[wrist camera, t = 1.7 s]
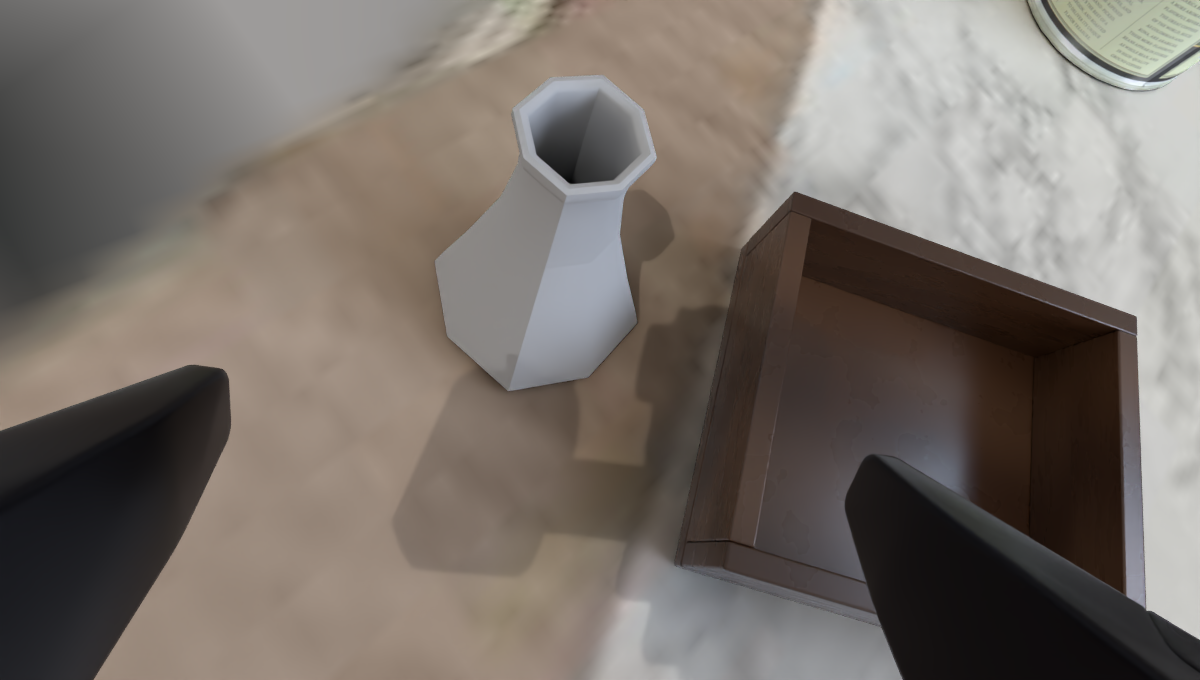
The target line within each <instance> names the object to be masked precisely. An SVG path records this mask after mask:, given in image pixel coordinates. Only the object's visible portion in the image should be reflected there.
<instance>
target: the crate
mask: <svg viewBox="0 0 1200 680" xmlns="http://www.w3.org/2000/svg"><path fill="white" fill-rule="evenodd" d="M1136 336H1137V317H1136V316H1134V315H1131V314H1128V313H1125V312H1123V311H1120V310H1117V309H1114V308H1112V307H1109V306H1106V305H1104V304H1101V303H1098V302H1095V301H1093V300H1090V299H1087V298H1084V297H1082V296H1079V295H1076V294H1074V293H1071V292H1068V291H1065V290H1063V289H1060V288H1057V287H1054V286H1052V285H1049V284H1046V283H1043V282H1041V281H1038V280H1035V279H1033V278H1030V277H1027V276H1024V275H1022V274H1019V273H1016V272H1013V271H1011V270H1008V269H1005V268H1002V267H1000V266H997V265H994V264H992V263H989V262H986V261H983V260H981V259H978V258H975V257H972V256H970V255H967V254H964V253H962V252H959V251H956V250H953V249H951V248H948V247H945V246H942V245H940V244H937V243H934V242H931V241H929V240H926V239H923V238H921V237H918V236H915V235H912V234H910V233H907V232H904V231H901V230H899V229H896V228H893V227H890V226H888V225H885V224H882V223H880V222H877V221H874V220H871V219H869V218H866V217H863V216H860V215H858V214H855V213H852V212H850V211H847V210H844V209H841V208H839V207H836V206H833V205H830V204H828V203H825V202H822V201H819V200H817V199H814V198H811V197H809V196H806V195H803V194H800V193H798V192H794V193H793V194H792V195H791V196H790V197H789V198H788V199H787V200H786V201H785V202H784V203H783V204H782V205H781V206H780V208H779V209H778V210H777V211H776V212H775V213H774V214H773V215H772V216H771V217H770V218H769V219H768V220H767V221H766V223H765V224H764V225H763V226H762V227H761V228H760V229H759V230H758V231H757V232H756V233H755V234H754V235H753V236H752V238H751V239H750V240H749V241H748V242H747V244H746V245H745V246H744V247H743V248H742V249H741V254H740V259H739V263H738V268H737V273H736V277H735V282H734V287H733V291H732V296H731V301H730V305H729V310H728V315H727V319H726V324H725V329H724V333H723V338H722V343H721V347H720V352H719V357H718V361H717V366H716V371H715V375H714V380H713V385H712V389H711V394H710V399H709V403H708V408H707V413H706V417H705V422H704V427H703V431H702V436H701V441H700V445H699V450H698V455H697V459H696V464H695V469H694V474H693V478H692V483H691V488H690V492H689V497H688V502H687V506H686V511H685V516H684V520H683V525H682V530H681V534H680V539H679V544H678V548H677V553H676V558H675V562H674V564H675V566H676V567H680V568H683V569H687V570H690V571H693V572H697V573H700V574H704V575H707V576H710V577H714V578H717V579H721V580H724V581H727V582H731V583H734V584H738V585H741V586H744V587H748V588H751V589H755V590H758V591H761V592H765V593H768V594H772V595H775V596H778V597H782V598H785V599H789V600H792V601H795V602H799V603H802V604H806V605H809V606H812V607H816V608H819V609H823V610H826V611H829V612H833V613H836V614H840V615H843V616H846V617H850V618H853V619H856V620H860V621H863V622H867V623H870V624H873V625H877V626H880V627H881V625H880V622H879V620H878V617H877V615H876V612H875V609H874V607H873V604H872V601H871V598H870V595H869V592H868V589H867V585H866V582H865V578H864V575H863V572H862V568H861V565H860V561H859V558H858V555H857V551H856V548H855V544H854V541H853V537H852V534H851V531H850V527H849V524H848V520H847V517H846V514H845V507H844V504H845V497H846V494H847V492H848V490H849V487H850V485H851V483H852V481H853V479H854V477H855V475H856V473H857V471H858V469H859V466H860V464H861V462H862V461H863V459H864V458H865V457H866V456H867V455H870V454H881V455H889V456H894V457H897V458H899V459H901V460H902V461H904V462H906V463H907V464H909V465H911V466H912V467H914V468H916V469H917V470H919V471H921V472H922V473H924V474H926V475H927V476H929V477H931V478H932V479H934V480H936V481H937V482H939V483H940V484H942V485H944V486H945V487H947V488H949V489H950V490H952V491H954V492H955V493H957V494H959V495H960V496H962V497H964V498H965V499H967V500H969V501H970V502H972V503H974V504H975V505H977V506H978V507H980V508H982V509H983V510H985V511H987V512H988V513H990V514H992V515H993V516H995V517H997V518H998V519H1000V520H1002V521H1003V522H1005V523H1007V524H1008V525H1010V526H1012V527H1013V528H1015V529H1016V530H1018V531H1020V532H1021V533H1023V534H1025V535H1026V536H1028V537H1030V538H1031V539H1033V540H1035V541H1036V542H1038V543H1040V544H1041V545H1043V546H1045V547H1046V548H1048V549H1050V550H1051V551H1053V552H1054V553H1056V554H1058V555H1059V556H1061V557H1063V558H1064V559H1066V560H1068V561H1069V562H1071V563H1073V564H1074V565H1076V566H1078V567H1079V568H1081V569H1083V570H1084V571H1086V572H1088V573H1089V574H1091V575H1093V576H1094V577H1096V578H1097V579H1099V580H1101V581H1102V582H1104V583H1106V584H1107V585H1109V586H1111V587H1112V588H1114V589H1116V590H1117V591H1119V592H1121V593H1122V594H1124V595H1126V596H1127V597H1129V598H1131V599H1132V600H1134V601H1135V602H1137V603H1139V604H1140V605H1142V606H1143V607H1144V608H1145V609H1146V590H1145V561H1144V532H1143V502H1142V473H1141V443H1140V414H1139V385H1138V355H1137V337H1136Z"/></svg>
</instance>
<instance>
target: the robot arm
mask: <svg viewBox="0 0 1200 680" xmlns="http://www.w3.org/2000/svg"><path fill="white" fill-rule="evenodd" d="M230 429H231V412H230V393H229V379H228V376H227V373H226V372H225V371H224V370H223V369H220V368H214V367H207V366H199V365H188V366H185V367H182V368H179V369H176V370H173V371H170V372H167V373H165V374H162V375H159V376H156V377H153V378H150V379H147V380H145V381H142V382H139V383H136V384H133V385H130V386H127V387H125V388H122V389H119V390H116V391H113V392H110V393H107V394H105V395H102V396H99V397H96V398H93V399H90V400H87V401H85V402H82V403H79V404H76V405H73V406H70V407H68V408H65V409H62V410H59V411H56V412H53V413H50V414H48V415H45V416H42V417H39V418H36V419H33V420H30V421H28V422H25V423H22V424H19V425H16V426H13V427H10V428H8V429H5V430H2V431H0V680H94V678H95V676H96V675H97V673H98V672H99V670H100V668H101V667H102V665H103V664H104V662H105V660H106V659H107V657H108V656H109V654H110V652H111V651H112V649H113V648H114V646H115V644H116V643H117V641H118V640H119V638H120V636H121V635H122V633H123V632H124V630H125V628H126V627H127V625H128V624H129V622H130V620H131V619H132V617H133V616H134V614H135V612H136V611H137V609H138V608H139V606H140V604H141V603H142V601H143V600H144V598H145V596H146V595H147V593H148V592H149V590H150V589H151V587H152V585H153V584H154V582H155V581H156V579H157V577H158V576H159V574H160V573H161V571H162V569H163V568H164V566H165V565H166V563H167V561H168V560H169V558H170V556H171V555H172V553H173V551H174V550H175V548H176V546H177V545H178V543H179V541H180V539H181V537H182V535H183V533H184V531H185V529H186V527H187V525H188V523H189V521H190V519H191V517H192V515H193V513H194V511H195V508H196V506H197V504H198V502H199V500H200V498H201V496H202V494H203V491H204V489H205V487H206V485H207V483H208V481H209V479H210V477H211V474H212V472H213V470H214V468H215V466H216V464H217V462H218V460H219V457H220V455H221V453H222V451H223V449H224V447H225V445H226V442H227V440H228V437H229V434H230ZM844 507H845V514H846V517H847V520H848V524H849V527H850V531H851V534H852V537H853V541H854V544H855V548H856V551H857V555H858V558H859V561H860V565H861V568H862V572H863V575H864V578H865V582H866V585H867V589H868V592H869V595H870V598H871V601H872V604H873V607H874V609H875V612H876V615H877V617H878V620H879V622H880V625H881V627H882V630H883V632H884V635H885V637H886V640H887V642H888V645H889V647H890V650H891V652H892V654H893V657H894V659H895V662H896V664H897V667H898V669H899V672H900V674H901V677H902V679H903V680H1200V640H1199V639H1197V638H1195V637H1194V636H1192V635H1190V634H1189V633H1187V632H1185V631H1184V630H1182V629H1180V628H1179V627H1177V626H1175V625H1174V624H1172V623H1170V622H1169V621H1167V620H1165V619H1164V618H1162V617H1160V616H1159V615H1157V614H1156V613H1154V612H1152V611H1146V609H1145V608H1144V607H1143V606H1142V605H1140V604H1139V603H1137V602H1135V601H1134V600H1132V599H1131V598H1129V597H1127V596H1126V595H1124V594H1122V593H1121V592H1119V591H1117V590H1116V589H1114V588H1112V587H1111V586H1109V585H1107V584H1106V583H1104V582H1102V581H1101V580H1099V579H1097V578H1096V577H1094V576H1093V575H1091V574H1089V573H1088V572H1086V571H1084V570H1083V569H1081V568H1079V567H1078V566H1076V565H1074V564H1073V563H1071V562H1069V561H1068V560H1066V559H1064V558H1063V557H1061V556H1059V555H1058V554H1056V553H1054V552H1053V551H1051V550H1050V549H1048V548H1046V547H1045V546H1043V545H1041V544H1040V543H1038V542H1036V541H1035V540H1033V539H1031V538H1030V537H1028V536H1026V535H1025V534H1023V533H1021V532H1020V531H1018V530H1016V529H1015V528H1013V527H1012V526H1010V525H1008V524H1007V523H1005V522H1003V521H1002V520H1000V519H998V518H997V517H995V516H993V515H992V514H990V513H988V512H987V511H985V510H983V509H982V508H980V507H978V506H977V505H975V504H974V503H972V502H970V501H969V500H967V499H965V498H964V497H962V496H960V495H959V494H957V493H955V492H954V491H952V490H950V489H949V488H947V487H945V486H944V485H942V484H940V483H939V482H937V481H936V480H934V479H932V478H931V477H929V476H927V475H926V474H924V473H922V472H921V471H919V470H917V469H916V468H914V467H912V466H911V465H909V464H907V463H906V462H904V461H902V460H901V459H899V458H897V457H894V456H889V455H881V454H870V455H867V456H866V457H865V458H864V459H863V461H862V462H861V464H860V466H859V469H858V471H857V473H856V475H855V477H854V479H853V481H852V483H851V485H850V487H849V490H848V492H847V494H846V497H845V504H844Z"/></svg>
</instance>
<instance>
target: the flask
mask: <svg viewBox="0 0 1200 680" xmlns="http://www.w3.org/2000/svg"><path fill="white" fill-rule="evenodd" d="M511 115H512V120H513V124H514V129H515V134H516V138H517V143H518V148H519V152H520V153H519V159H518V164H517V166H516V168H515V170H514V172H513V174H512V176H511V178H510V179H509V181H508V183H507V185H506V187H505V189H504V191H503V193H502V195H501V196H500V197H499V198H498V199H497V201H496V202H495V203H494V204H493V205H492V206H491V207H490V208H489V209H488V210H487V211H486V212H485V213H484V214H483V215H482V216H481V217H480V218H479V219H478V220H477V221H476V222H475V223H474V224H473V225H472V226H471V228H470V229H469V230H467V231H466V232H465V233H464V234H463V235H462V236H461V237H460V238H459V239H457V240H456V241H455V242H454V243H453V244H452V245H451V246H450V247H448V248H447V249H446V250H445V251H444V252H443V253H442V254H441V255H440V256H439V257H438V258H437V259H436V260H435V267H436V273H437V279H438V285H439V291H440V297H441V303H442V309H443V315H444V321H445V327H446V333H447V337H448V338H450V339H451V340H452V341H453V342H454V343H455V344H456V345H457V346H458V347H460V348H461V349H462V350H463V351H464V352H465V353H466V354H467V355H468V356H470V357H471V358H472V359H473V360H474V361H475V362H476V363H477V364H478V365H480V366H481V367H482V368H483V369H484V370H485V371H486V372H487V373H488V374H490V375H491V376H492V377H493V378H494V379H495V380H496V381H497V382H498V383H500V384H501V385H502V386H503V387H504V388H505V389H506V390H507V391H513V390H519V389H524V388H530V387H536V386H542V385H547V384H553V383H559V382H565V381H570V380H576V379H582V378H588V377H589V376H590V375H591V374H592V373H593V371H594V370H595V369H596V368H597V367H598V366H599V365H600V364H601V363H602V362H603V360H604V359H605V358H606V357H607V356H608V355H609V354H610V353H611V352H612V350H613V349H614V348H615V347H616V346H617V345H618V344H619V343H620V342H621V341H622V339H623V338H624V337H625V336H626V335H627V334H628V333H629V332H630V331H631V329H632V328H633V327H634V326H635V325H636V324H637V318H636V312H635V308H634V304H633V300H632V295H631V291H630V287H629V283H628V279H627V273H626V268H625V262H624V256H623V250H622V244H621V238H620V227H621V218H622V209H623V200H624V196H625V194H626V192H627V189H628V188H629V187H630V186H631V185H632V184H633V183H634V182H635V181H636V180H637V179H638V178H639V177H640V176H641V175H642V174H643V173H644V172H645V171H646V170H647V169H648V168H649V167H650V166H651V165H652V164H653V163H654V162H655V160H656V157H657V156H656V152H655V149H654V145H653V141H652V138H651V134H650V131H649V127H648V123H647V120H646V116H645V113H644V109H642V108H641V107H640V106H639V105H638V104H637V103H635V102H634V101H633V100H632V99H631V98H630V97H628V96H627V95H626V94H625V93H624V92H623V91H621V90H620V89H619V88H618V87H617V86H616V85H614V84H613V83H612V82H611V81H610V80H609V79H607V78H606V77H605V76H604V75H589V76H569V77H550V78H549V79H548V80H547V81H545V82H544V83H543V84H542V85H540V86H539V87H538V88H537V89H536V90H534V91H533V92H532V93H531V94H529V95H528V96H527V97H526V98H525V99H523V100H522V101H521V102H520V103H518V104H517V105H516V106H515V107H514V108H513V109H512V114H511Z"/></svg>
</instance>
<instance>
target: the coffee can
mask: <svg viewBox="0 0 1200 680" xmlns="http://www.w3.org/2000/svg"><path fill="white" fill-rule="evenodd" d="M1027 1H1028V4H1029V6H1030V9H1031V11H1032V14H1033V16H1034V18H1035V20H1036V22H1037V24H1038V26H1039V27H1040V29H1041V31H1042V32H1043V33H1044V34H1045V35H1046V36H1047V37H1048V39H1049V40H1050V42H1051V43H1052V44H1053V45H1054V47H1055V48H1056V49H1057V50H1058V51H1059V52H1060V53H1061V54H1062V55H1064V56H1065V57H1066V58H1067V59H1068V60H1070V61H1071V62H1072V63H1073V64H1075V65H1076V66H1077V67H1079V68H1080V69H1082V70H1083V71H1085V72H1086V73H1088V74H1090V75H1091V76H1093V77H1095V78H1096V79H1098V80H1101V81H1104V82H1106V83H1109V84H1111V85H1114V86H1117V87H1120V88H1123V89H1128V90H1138V91H1145V90H1153V89H1158V88H1160V87H1163V86H1165V85H1167V84H1169V83H1170V82H1171V81H1173V80H1174V79H1176V78H1177V77H1178V75H1179V74H1181V73H1183V72H1184V71H1186V70H1187V69H1189V68H1190V67H1191V66H1193V65H1194V64H1196V63H1197V62H1199V61H1200V0H1027Z"/></svg>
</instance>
